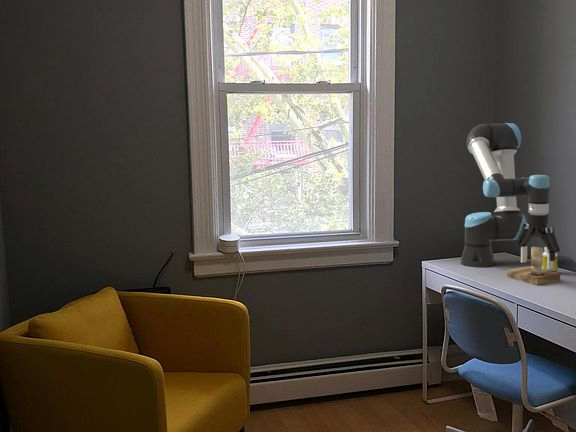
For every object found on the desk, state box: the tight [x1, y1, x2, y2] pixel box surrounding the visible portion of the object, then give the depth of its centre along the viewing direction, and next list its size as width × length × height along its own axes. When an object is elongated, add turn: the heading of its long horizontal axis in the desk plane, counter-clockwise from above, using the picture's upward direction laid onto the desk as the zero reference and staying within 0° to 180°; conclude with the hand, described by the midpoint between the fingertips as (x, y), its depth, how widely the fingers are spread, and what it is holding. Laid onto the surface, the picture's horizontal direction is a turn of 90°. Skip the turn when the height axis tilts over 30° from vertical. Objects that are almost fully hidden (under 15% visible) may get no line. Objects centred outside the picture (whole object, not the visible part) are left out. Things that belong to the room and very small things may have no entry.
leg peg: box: [530, 246, 544, 276], centre depth 251 cm, size 4×4×14 cm
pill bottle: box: [542, 246, 559, 273], centre depth 264 cm, size 6×6×11 cm
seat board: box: [506, 265, 561, 286], centre depth 256 cm, size 16×13×3 cm
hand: (536, 265), depth 251 cm, fingers open, 13 cm apart
